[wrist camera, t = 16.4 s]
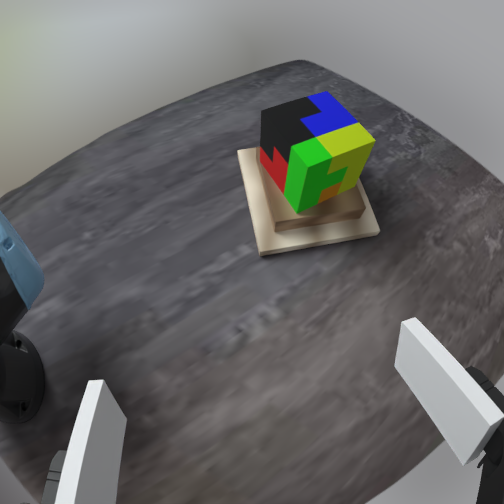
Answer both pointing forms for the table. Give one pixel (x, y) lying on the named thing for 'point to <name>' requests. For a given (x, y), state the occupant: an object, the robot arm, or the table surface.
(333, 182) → the puzzle toy
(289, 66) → the table surface
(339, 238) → the build plinth
